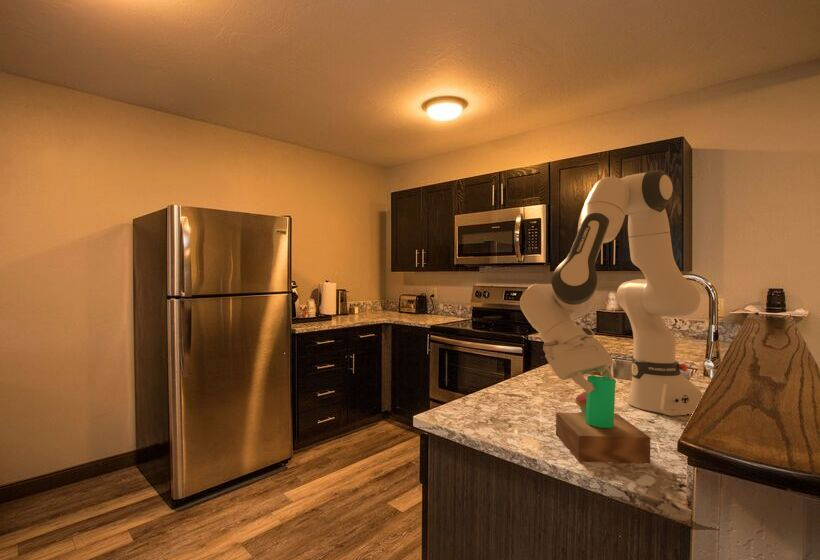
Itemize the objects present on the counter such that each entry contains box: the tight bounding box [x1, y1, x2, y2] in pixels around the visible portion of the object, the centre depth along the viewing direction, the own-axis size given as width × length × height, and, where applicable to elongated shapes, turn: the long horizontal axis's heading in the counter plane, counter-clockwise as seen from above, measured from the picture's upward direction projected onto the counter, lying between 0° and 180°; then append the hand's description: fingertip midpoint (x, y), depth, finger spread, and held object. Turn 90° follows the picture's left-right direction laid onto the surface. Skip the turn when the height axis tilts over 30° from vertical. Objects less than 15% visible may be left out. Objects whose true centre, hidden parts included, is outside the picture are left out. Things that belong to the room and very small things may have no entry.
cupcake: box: [575, 391, 587, 413], centre depth 115 cm, size 9×8×12 cm
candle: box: [586, 372, 617, 428], centre depth 95 cm, size 6×6×12 cm
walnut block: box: [555, 411, 652, 464], centre depth 95 cm, size 15×15×6 cm
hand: (602, 388), depth 94 cm, fingers open, 8 cm apart
